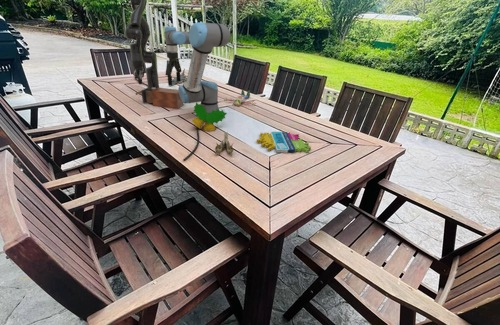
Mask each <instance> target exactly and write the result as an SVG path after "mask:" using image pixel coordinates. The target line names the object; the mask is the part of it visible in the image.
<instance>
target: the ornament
mask: <svg viewBox="0 0 500 325" xmlns="http://www.w3.org/2000/svg"><path fill="white" fill-rule="evenodd" d="M219 110H220V108H219V109H217V110H216V111H214V110H212V112H211V113H208V112H206V109H204V106H201V103H199V102H195V105H194V106H193V112H194V113H195V118H192V119H191V122H192V123H193V125H195V127H196V128H197V127H198V129H202V130H203V131H206V132H212V131H213V132H214V131H215V130H216V126H215V124H218V123H219V122H223V119H226V115H227V114H228V113H227V112H224V110H223V109H221V110H220V111H219ZM207 113H208V115H207ZM204 121H205V122H204ZM214 123H215V124H214Z"/></svg>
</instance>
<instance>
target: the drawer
mask: <svg viewBox="0 0 500 325" xmlns="http://www.w3.org/2000/svg"><path fill="white" fill-rule="evenodd" d="M152 90H154V89H149V88H148V87H146V88H144V89H141V90H139V91H136V92H135V95H136V96H137V95H141V99H142V103H143V104H145V103H148V104H153V99H152Z"/></svg>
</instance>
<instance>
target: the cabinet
mask: <svg viewBox="0 0 500 325" xmlns="http://www.w3.org/2000/svg"><path fill="white" fill-rule="evenodd" d="M152 99H153V103H152V106H154V107H161V108H169V109H175V110H178V109H180V108H181V107H183V106H184V105H185V103H183V102H182V100H181V98H180V95H179V89H175V88H167V87H160V86H159V87H158V88H156V89H154V90H152Z"/></svg>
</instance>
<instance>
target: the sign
mask: <svg viewBox="0 0 500 325" xmlns="http://www.w3.org/2000/svg"><path fill="white" fill-rule="evenodd" d="M299 136H300V135H299V134H298V133H296V134H294V133H291V132H287V131H270V132H264V133H263V132H260V133H259V139H258V138H257V139H256V143H257V144H261V148H263V147H264V148H265V149H267V151H268V152H271V151H272V150H273V149H275V152H276V153H283V154H285V153H287V154H288V153H290V154H293V153H296V152H298V153H301V152H305V153H310V151H311V150H312V149H311V148H312V146H309V142H304V141H303V139H302V138H299Z"/></svg>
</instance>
